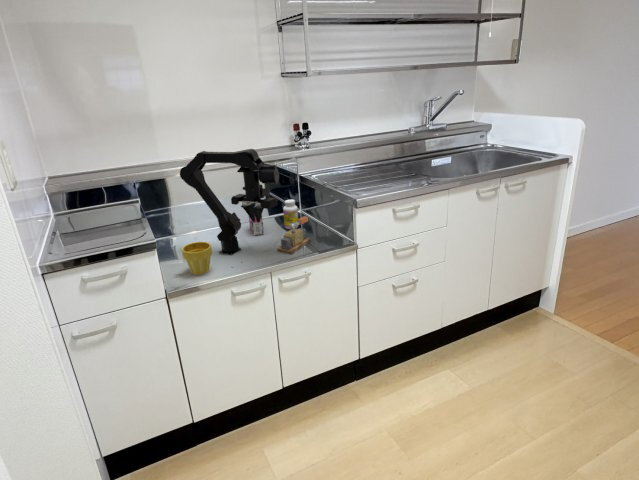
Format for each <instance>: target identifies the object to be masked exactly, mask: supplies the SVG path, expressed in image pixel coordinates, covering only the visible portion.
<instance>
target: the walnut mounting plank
mask: <svg viewBox="0 0 639 480" xmlns="http://www.w3.org/2000/svg"><path fill="white" fill-rule="evenodd" d="M311 239H312V238H311V237H307V238H306V239H305V240H303V241H302V242H301V243H299V244H298V245H296V246H293V248H291V249H290V250H288V249H283V248H281V245H280V246H278V247H277V248H276V252H277V253H281V252H282V254H286V253H287V254H288V255H294V254H295V253H296V252H298V251H300V249H302V248H303V247H305V246H306V245H308V244H309V243H311V241H312V240H311Z"/></svg>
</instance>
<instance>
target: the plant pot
mask: <svg viewBox="0 0 639 480" xmlns="http://www.w3.org/2000/svg"><path fill="white" fill-rule="evenodd" d="M212 250H213V249H212V244H211V243H210V242H207V241H195V242H190V243H188V244H187V243H186V244H185V245H184V246H183V247H182V248H181V252H182V257H183V259H184V260H185V261H186V263H187V265H188V268H189V271H190V272H191V274H192V275H196V276H197V275H204V274H207V273H208V272H209V271H210V268H211V267H210V266H211V265H210V264H211V256H212V254H213V251H212Z"/></svg>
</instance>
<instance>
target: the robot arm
mask: <svg viewBox="0 0 639 480" xmlns="http://www.w3.org/2000/svg"><path fill="white" fill-rule="evenodd" d="M206 164H232V165H233V164H234V165H236V166H239V168H238V169H237V171H236V173H242V175H243V176H242V177H243V183H244V186H242V191H243V190H244V191H245V192H244V193H238V194H236V195H233V196H231V199H230V200H231V201H230V203H231V204H232V205H235V206H236V205H238V204H239V203H240V202H241V205H240V207H241V208H242V209H243V210H244V211H245V212H246V213H247V215H248V218H249V217H250V218H251V220H252V221H253V222H255V217H256V220H257V222H258V223H259V222H260V219H261V215H262V216H263V211H264V209H267V210H269V209H270V210H271V209H272V208H274V207H277V206H278V205H279V204H278V199H277V198H275V197H270V194H271V189H270V188H264V187H263V185H262V184H279V181H280V172H279V169H278V168H277V165H276V164H271V165H269V164H268V165H267V164H265V163H264V161H263V160H262V159H261V158H260V156H259V154H258V151H256V149H254V148H248V149H242V150H239V151H238V150H237V151H206V150H202V151H200V152H198V153H196V154H195V156H194V157H193V159H192V160H190V161H189V162H188V163H187V164H186V165H185V166H183V167H182V168H180V171H179V177H180V179H181V180H182V181H183V182H184V183H185V184H186V185H188V186H189V187H191V188H193V189H194V190H195V191H196V192H197V193H198V195H199V196H200V198H202V200H203V201H204V203H205V204H206V205H207V207H208V208H209V209H210V210H211V212H212V213H213V214H214V216H215V217H216V219H217V222H218V227H219V228H220V230H221V231H220V232H219V233H218V234H217V236H216V237H217V240H218V241H219V242H220V246H221V250H220V251H219V253H221V254H225V255H230V256H232V255H233V254H235V253H237V252H239V251H241V250H242V248H241V247H240V245H239V240H238V237H237V236H236V235H238V233H239V231H240V230H241V228H242V222H241V219H240V218H239V217H238V214H236V212H232V213H231V212H229V211H228V210H227V209H226V207H225V206H224V205H223V204H222V202H221V201H220V199H219V198H218V197H217V195H216V194H215V192H214V191H213V190H212V189H211V187H210V186H209V185H208V184H207V182H206V179H205V175H204V173H203V169H204V167H206ZM260 183H261V184H260ZM265 197H266V198H265ZM255 204H256V207H255Z"/></svg>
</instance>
